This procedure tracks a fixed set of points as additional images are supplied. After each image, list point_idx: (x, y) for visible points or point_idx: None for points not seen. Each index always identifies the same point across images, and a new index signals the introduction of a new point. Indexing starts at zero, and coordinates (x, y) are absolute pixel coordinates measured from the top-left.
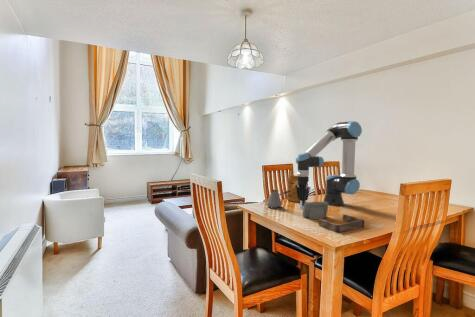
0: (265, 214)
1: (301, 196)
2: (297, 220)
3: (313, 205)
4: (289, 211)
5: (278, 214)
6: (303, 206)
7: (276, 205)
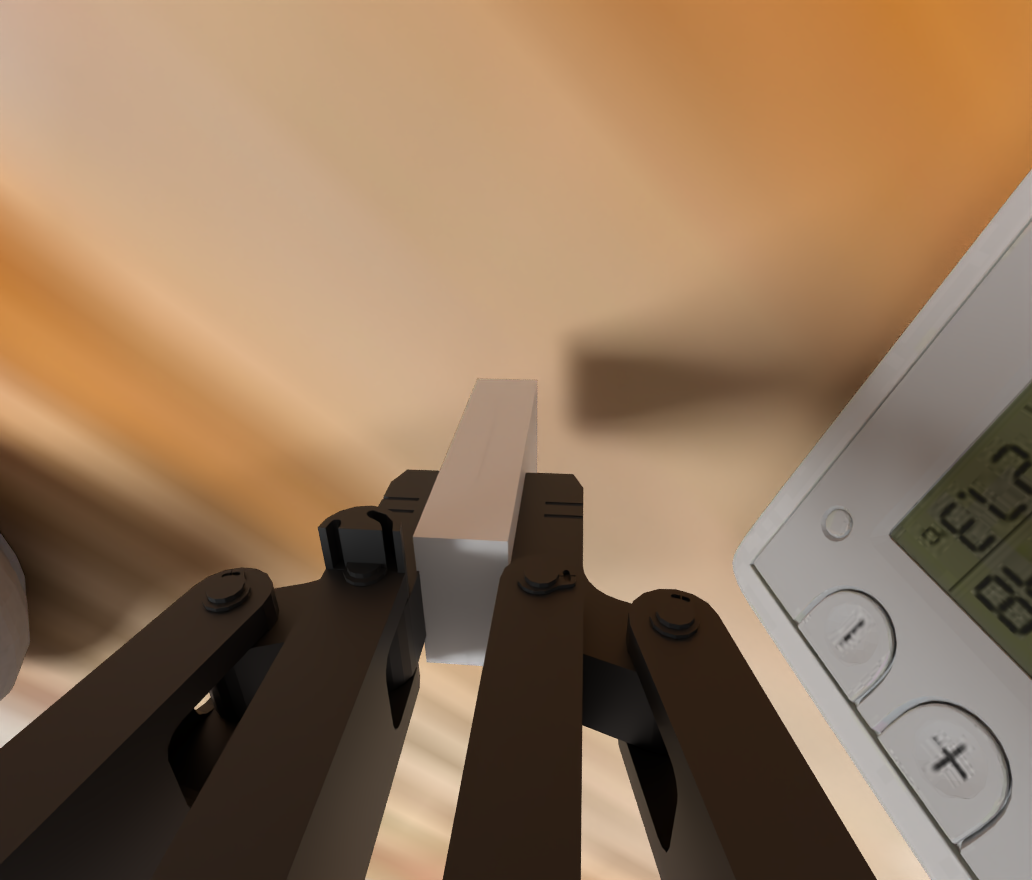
0: None
1: (375, 768)
2: (828, 749)
3: None
4: (300, 522)
5: (409, 751)
6: (530, 464)
7: (19, 652)
